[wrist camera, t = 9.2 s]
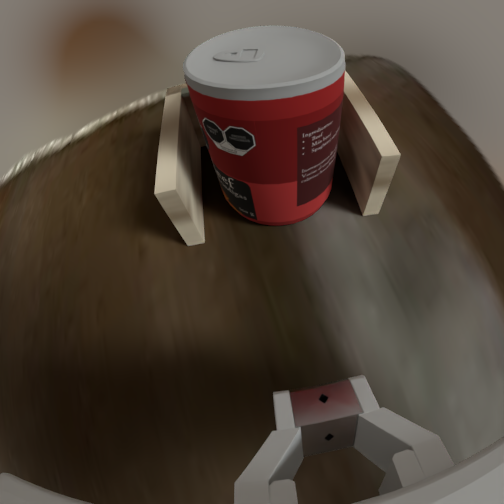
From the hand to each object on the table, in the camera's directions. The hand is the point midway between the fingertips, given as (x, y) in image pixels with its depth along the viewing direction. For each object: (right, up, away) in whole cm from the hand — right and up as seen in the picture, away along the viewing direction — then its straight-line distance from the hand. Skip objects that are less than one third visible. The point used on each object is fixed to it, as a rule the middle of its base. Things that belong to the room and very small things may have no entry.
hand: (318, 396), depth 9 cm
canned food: (0, +10, +13) cm, 16 cm away
